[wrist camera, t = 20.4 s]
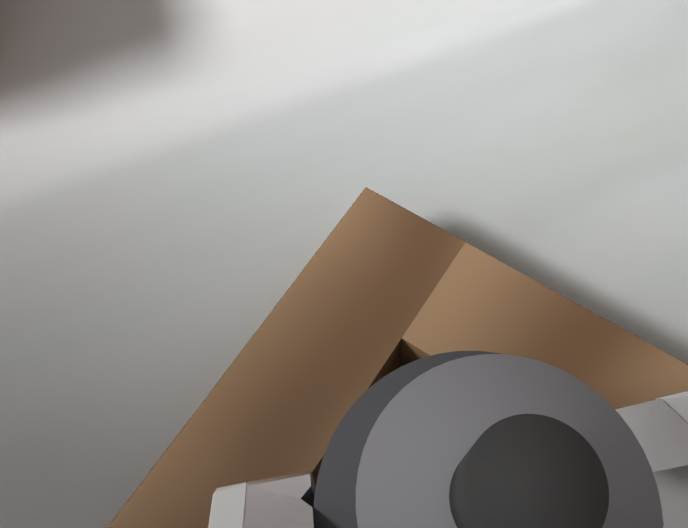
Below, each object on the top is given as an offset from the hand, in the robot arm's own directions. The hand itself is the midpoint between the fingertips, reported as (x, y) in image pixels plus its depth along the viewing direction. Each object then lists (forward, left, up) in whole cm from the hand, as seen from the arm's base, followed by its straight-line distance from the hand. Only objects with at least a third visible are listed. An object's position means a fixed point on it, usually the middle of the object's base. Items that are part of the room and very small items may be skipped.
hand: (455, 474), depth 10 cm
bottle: (0, 0, -5) cm, 5 cm away
